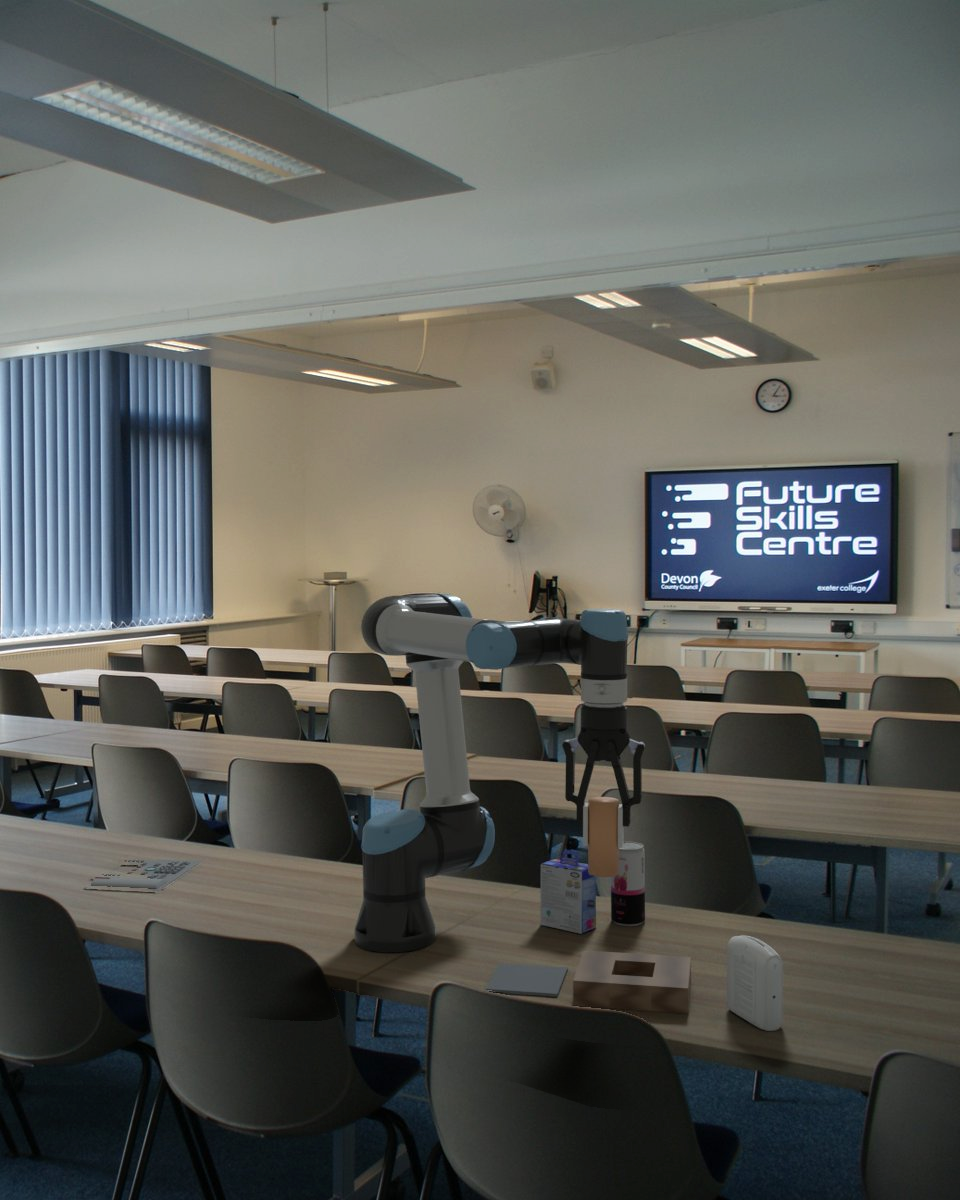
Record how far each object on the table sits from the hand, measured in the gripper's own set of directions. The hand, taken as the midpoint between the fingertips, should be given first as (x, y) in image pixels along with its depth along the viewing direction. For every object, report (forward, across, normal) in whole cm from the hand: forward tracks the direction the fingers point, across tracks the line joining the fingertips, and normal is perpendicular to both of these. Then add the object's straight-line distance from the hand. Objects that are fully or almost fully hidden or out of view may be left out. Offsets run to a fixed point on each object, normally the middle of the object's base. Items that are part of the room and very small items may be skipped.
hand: (603, 844), depth 186 cm
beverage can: (+25, +2, +35) cm, 43 cm away
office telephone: (+27, -110, +49) cm, 123 cm away
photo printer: (+24, +24, -8) cm, 35 cm away
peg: (+5, 0, 0) cm, 5 cm away
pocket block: (+24, +5, -1) cm, 25 cm away
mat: (+24, -13, +1) cm, 27 cm away
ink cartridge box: (+25, -9, +30) cm, 40 cm away
